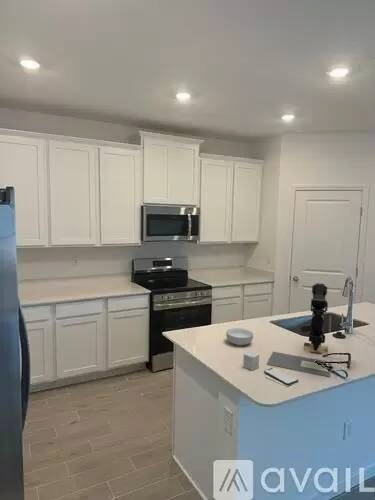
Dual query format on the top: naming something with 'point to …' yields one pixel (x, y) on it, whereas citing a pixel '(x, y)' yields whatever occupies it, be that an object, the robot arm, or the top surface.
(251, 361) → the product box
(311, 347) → the two-tone wooden plank
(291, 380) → the smartphone
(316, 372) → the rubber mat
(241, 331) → the cereal bowl
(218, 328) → the top surface
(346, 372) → the top surface
